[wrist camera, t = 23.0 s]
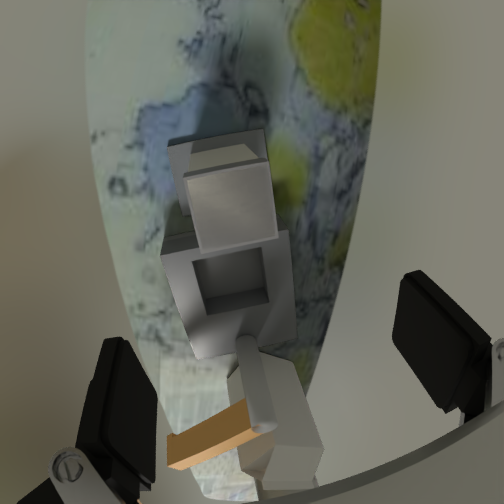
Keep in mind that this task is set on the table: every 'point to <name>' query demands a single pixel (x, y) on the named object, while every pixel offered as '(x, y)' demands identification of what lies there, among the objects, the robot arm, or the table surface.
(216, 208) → the plug
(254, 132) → the mat
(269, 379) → the milk carton
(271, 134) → the table surface
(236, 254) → the socket
